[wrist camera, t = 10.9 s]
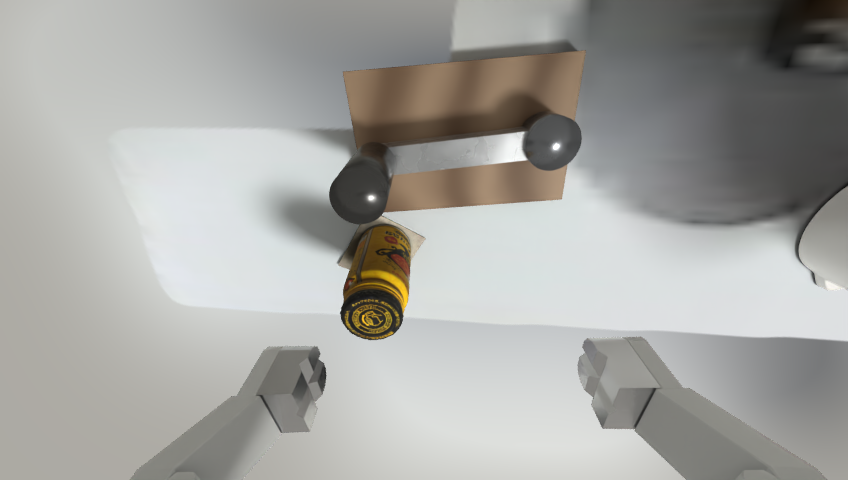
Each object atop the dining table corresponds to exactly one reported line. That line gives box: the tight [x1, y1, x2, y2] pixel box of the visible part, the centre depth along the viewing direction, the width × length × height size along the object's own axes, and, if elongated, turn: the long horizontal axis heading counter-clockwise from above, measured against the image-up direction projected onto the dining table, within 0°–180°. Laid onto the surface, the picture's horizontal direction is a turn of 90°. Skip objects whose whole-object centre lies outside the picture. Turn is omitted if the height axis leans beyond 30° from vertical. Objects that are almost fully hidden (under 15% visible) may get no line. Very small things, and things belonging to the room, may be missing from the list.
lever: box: [329, 111, 582, 224], centre depth 23 cm, size 19×4×10 cm, turn 96°
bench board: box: [343, 50, 586, 212], centre depth 29 cm, size 20×13×2 cm, turn 94°
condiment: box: [339, 216, 426, 340], centre depth 31 cm, size 7×8×12 cm
